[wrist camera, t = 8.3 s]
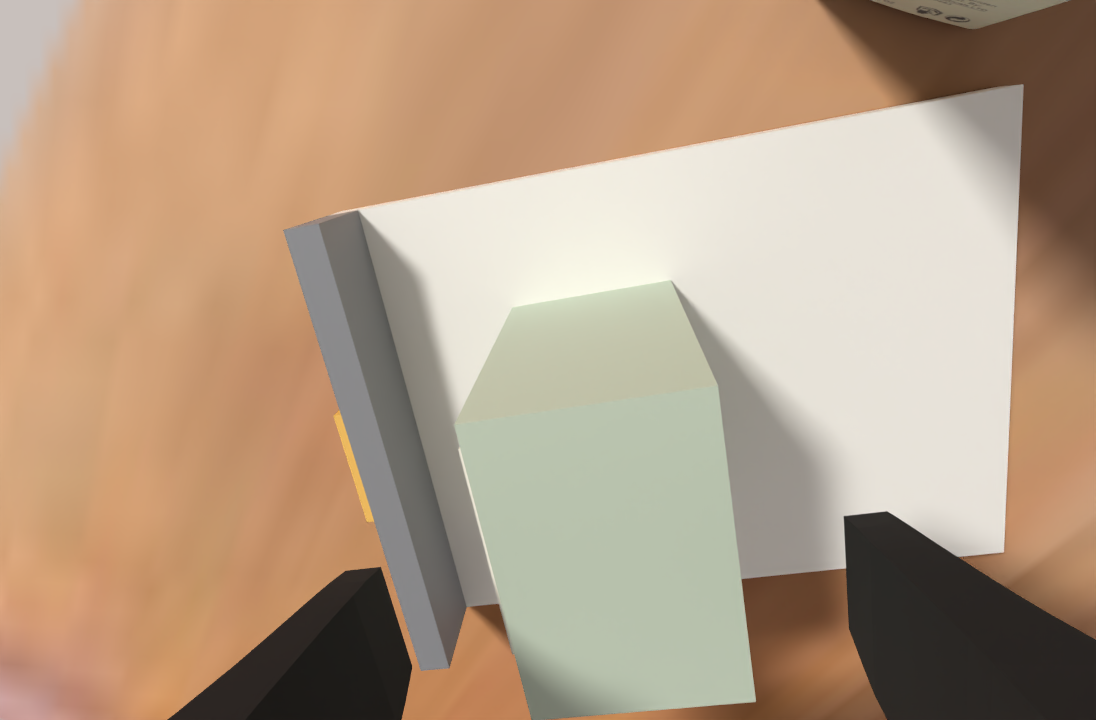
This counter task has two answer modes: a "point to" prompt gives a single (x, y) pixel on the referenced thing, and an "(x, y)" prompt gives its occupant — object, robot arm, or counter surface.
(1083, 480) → the counter surface
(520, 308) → the carton
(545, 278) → the shelf board
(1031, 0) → the skincare box
